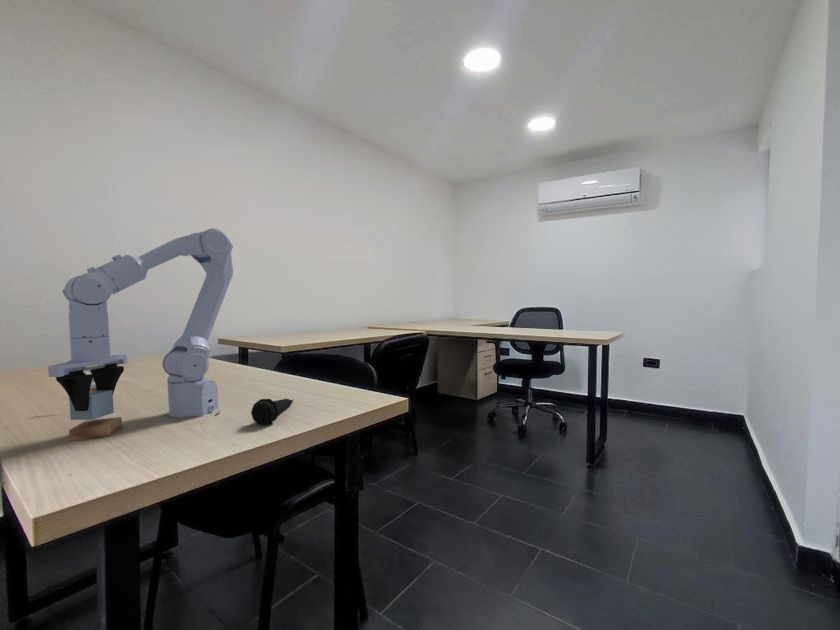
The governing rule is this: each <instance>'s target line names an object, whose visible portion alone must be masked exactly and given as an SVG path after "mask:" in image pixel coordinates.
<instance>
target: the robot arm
mask: <svg viewBox="0 0 840 630" xmlns="http://www.w3.org/2000/svg"><path fill="white" fill-rule="evenodd" d="M232 243H233V242H231V240H230V238H229V236H228V235H227V234H226V233H225V232H224V231H223V230H221V229H219V228H216V227H215V228H213V227H212V228H208V229H207V230H203V231H199V232H194V233H193V232H192V233H191V234H187V235H183V236H180V237H177V238H173V239H171V240H170V241H167V242H165V243H163V244H162V245H160V246H157V247H156V248H155V247H154V249H151V250H149V251H148V252H145V253H143V254H141V255H139V256H134V255H130V254H125V255H122V254H117V255H114V256H113V257H111V259H112V261H111V260H110V261H109V262H107V263H104V264H102V265H100V266H98V267H94V266H91V267H89V268H87V269H86V271H87V272H86V273H83V274H82V275H81V274H80V275H77V276H73V277H72V278H70V279H69V280H68V281H67V282H66V283H65V286H64V289H62V293H63V296H64V298H65V299H66V300H67V301H68V312H69V313H68V327H69V328H68V329H69V343H70V360H67V361H66V362H61V363H58V364H54V365H48V366H47V369H48V370H47V371H48V377H49V378H55V380H56V382H57V383H59V385H60V386H61V387H62V388H63V390H65V392H66V393H67V396H68V399H69V398H70V400H71V402H72V404H73V407H74V409H75V411H87V410H88V407H89V392H90V386H91V382H92V379H94V381H95V385H96V390H112V391H113V394H115V393H114V392H115V389H116V387H117V384H118V381H119V379H120V377H121V375H122V374H123V373H124V371H125V368H124V366H123V365H126V364H128V354H121V353H119V354H113V355H111V347H110V346H111V343H110V330H109V328H110V327H109V313H108V303H107V302H108V300H109V299H110V297H111V296H112V295H115V294H117V293H120V292H122V291H123V290H126V289H128V288H129V287H132V286H133V285H136V284H137V283H139V282H141V281H143V280H145V279H146V278H147V275H148V271H149V270H152V269H153V268H156V267H157V266H160V265H162V264H165V263H166V262H169V261H171V260H174V259H176V258H177V257H180V256H183V257H188V256H191V257H192V258H193V260H195V261H196V262H197V263H198V264H199V265H200V266H201V267H202V268H203V270H204V272H205V273H206V274H205V275H206V276H205V277H204V278H205V279H204V280H203V283H202V285H201V287H200V289H199V293H198V295H197V298H196V301H195V303H194V306H193V308H192V310H191V313H190V315H189V318H188V320H187V323H186V325H185V328H184V330H183V333H182V335H181V336H180V337H178V338H177V340H176V341H175V342H174V344H173V346H172V348H171V349H170V350H169V351H168V352H167V353H166V354H165V355H164V356H163V359H162V363H161V366H162V368H163V371H164V372H165V373H166V374H167V375H168V378H167V399H168V416H169V417H170V418H185V417H204V416H206V415H208V414H210V413H213V412H214V411H216V410H217V411H216V413H215V414H214V415H215V416H217V415H218V414H220V413H221V410H218V409H219V395H218V394H219V393H218V386H217V383H216V382H215V380H213V379H207V378H205V375H206V373H208V372H207V371H208V370H209V368H210V367H209V366H210V364H209V356H210V352H211V348H210V345H209V338H210V336H211V334H212V331H213V328H214V325H215V323H216V320H217V317H218V316H219V315H218V314H219V312H220V311H221V310H220V309H221V307H222V304H223V301H224V299H225V297H226V294H227V291H228V288H229V286H230V283H231V281H232V278H233V276H234V275H233V274H234V267H233V266H234V265H233V259H232V257H233V256H232V251H233V248H234V245H233V244H232ZM87 371H89V372H91V374H86V373H87Z"/></svg>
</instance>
